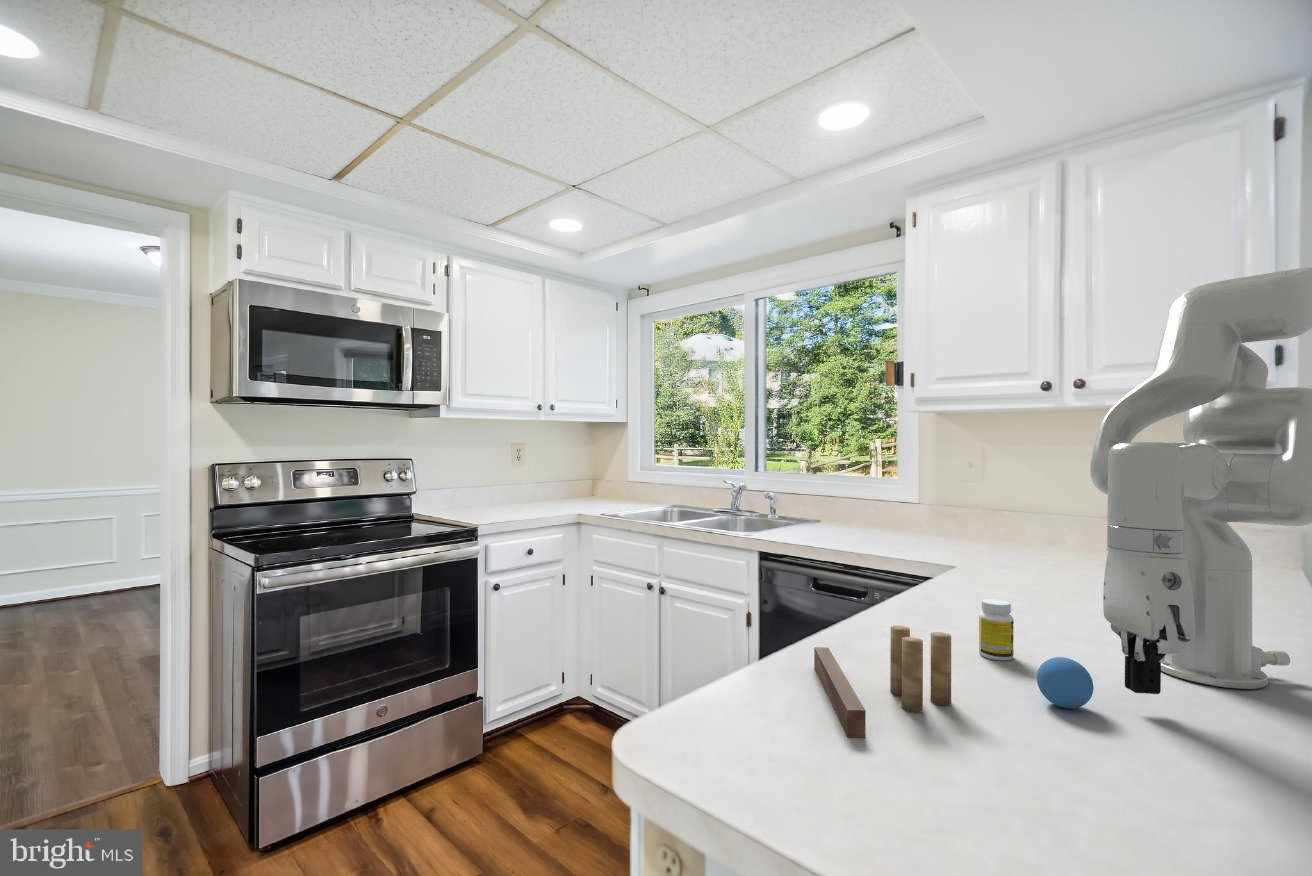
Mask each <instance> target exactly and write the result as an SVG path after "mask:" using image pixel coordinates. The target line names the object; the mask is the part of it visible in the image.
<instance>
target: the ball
mask: <svg viewBox="0 0 1312 876" xmlns="http://www.w3.org/2000/svg"><path fill="white" fill-rule="evenodd" d="M1092 678H1093V677H1091V674H1090V673H1089V671H1088V669H1086V668H1085V666H1084V665H1082V664H1080V662H1078V661H1076V660H1074V659H1071V658H1068V657H1062V656H1061V657H1060V656H1058V657H1057V656H1056V657H1052V658H1049V659H1047V660H1045V661H1044V662H1043V663H1041V665H1040V666H1039V667H1038V669H1037V672H1036V682H1037V686H1038V689H1039V691H1040V693H1041V694H1042V695H1043V696H1044V698H1045V699H1046V700H1047V701H1048V702H1050V703H1051V704H1053V705H1055V706H1057V707H1060V708H1064V709H1078V708H1081V707H1083V706H1085V705H1086V704H1087V703H1088V702H1089V701H1090V700H1091V699H1092V696H1093V694H1094V690H1095V689H1094V682H1093V679H1092Z"/></svg>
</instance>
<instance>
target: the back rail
mask: <svg viewBox="0 0 1312 876" xmlns="http://www.w3.org/2000/svg"><path fill="white" fill-rule="evenodd" d="M813 649H814V651H813V652H814V653H813V654H814V658H813V660H814V662H813V663H814V664H813V665H814V667H813V668H814V670H815V672H816V675H817V676H818V678H819V680H820V683H821V686H822V687H823V690H824V691H825V693H826V695H827V697H829V698H828V700H829V699H830V700H829V702H830V701H831V702H830V704H831V707H832V708H833V711H834V713H835V714H836V716H837V718H838V721H839V723H840V725H841V727H842V729H843V731H844V734H845V735H846V737H847V738H863V739H865V738H866V735H867V734H866V732H867V731H866V726H867V725H866V723H867V722H866V718H867V717H866V714H867V710H866V709H865V707H864V706H863V704H862V702H861V700H860V699H859V697H858V695H857V694H856V692H855V690H854V687H852V685H851V683H850V682H849V680H848V678H847V676H846V675H845V673H844V671H843V670H842V668H841V666H840V664H839V663H838V662H837V660H836V657H834V654H833V653H832V652H831V650H830V647H828V646H827V647H824V646H823V647H822V646H814V648H813Z"/></svg>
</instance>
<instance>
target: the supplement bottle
mask: <svg viewBox="0 0 1312 876" xmlns="http://www.w3.org/2000/svg"><path fill="white" fill-rule="evenodd" d="M981 610H982V611H981V612H979V615H978V654H979V655H980V656H982V657H984V658H985V659H989V660H994V661H1005V662H1006V661H1011V660H1013V659H1014V652H1015V651H1014V637H1015V636H1014V623H1015V622H1014V617H1013V616H1012V614H1011V613H1012V603H1011V602H1009V601H1007V600H1003V599H995V598H986V599H985V598H984V599H981Z"/></svg>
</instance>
